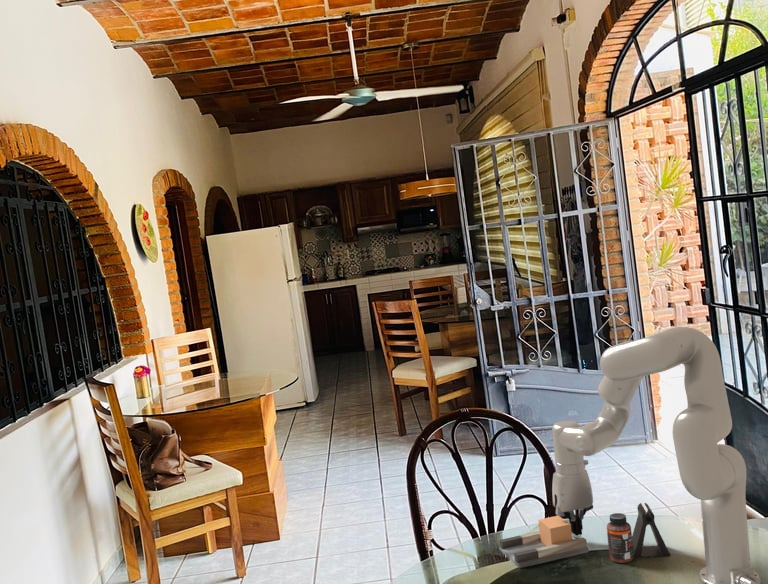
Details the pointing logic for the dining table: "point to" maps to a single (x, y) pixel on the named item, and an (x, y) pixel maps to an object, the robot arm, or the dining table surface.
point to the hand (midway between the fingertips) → (576, 533)
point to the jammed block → (554, 530)
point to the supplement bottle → (619, 539)
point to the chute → (539, 549)
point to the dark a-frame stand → (639, 534)
